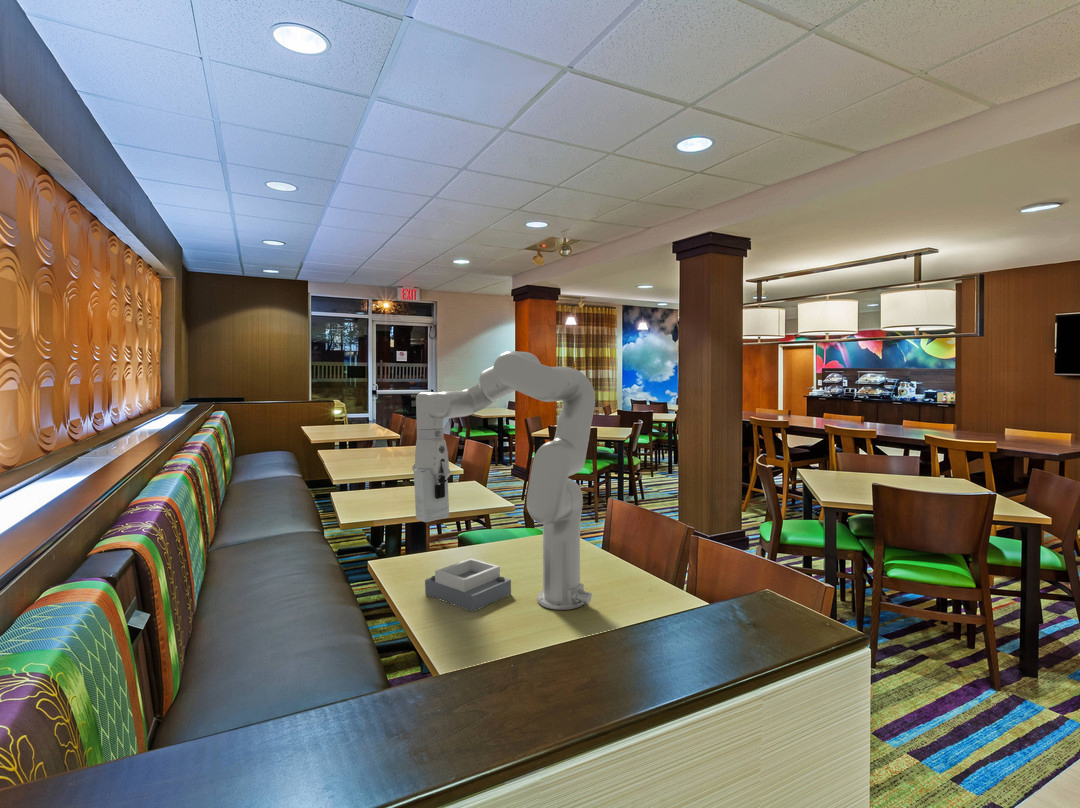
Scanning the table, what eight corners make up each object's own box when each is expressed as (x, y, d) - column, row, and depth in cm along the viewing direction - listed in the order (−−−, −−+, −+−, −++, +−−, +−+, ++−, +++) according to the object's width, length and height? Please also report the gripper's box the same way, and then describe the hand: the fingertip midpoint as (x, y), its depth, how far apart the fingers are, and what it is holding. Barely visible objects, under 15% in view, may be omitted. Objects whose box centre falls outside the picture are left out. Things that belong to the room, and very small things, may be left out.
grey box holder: (511, 594, 149) (510, 568, 149) (473, 612, 138) (472, 584, 138) (463, 579, 161) (463, 555, 160) (425, 594, 150) (424, 568, 149)
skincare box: (439, 514, 168) (438, 465, 168) (450, 518, 164) (448, 467, 163) (414, 519, 163) (412, 468, 162) (424, 523, 158) (422, 470, 158)
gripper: (460, 435, 160) (461, 497, 161) (421, 432, 171) (422, 490, 171) (440, 437, 154) (441, 502, 155) (400, 434, 165) (402, 495, 166)
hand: (431, 495), depth 163 cm, fingers closed on skincare box, 6 cm apart
